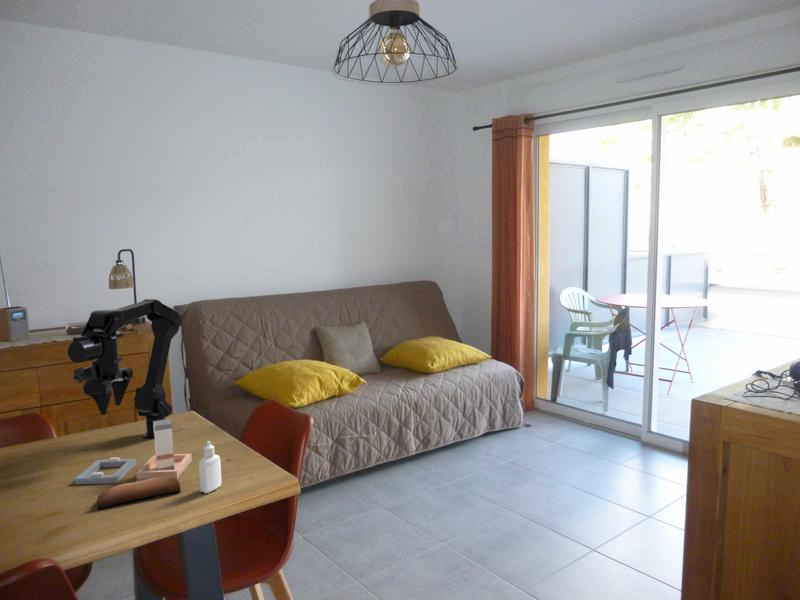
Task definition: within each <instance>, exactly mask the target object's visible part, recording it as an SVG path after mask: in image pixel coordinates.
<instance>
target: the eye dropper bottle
mask: <svg viewBox="0 0 800 600" xmlns="http://www.w3.org/2000/svg"><path fill="white" fill-rule="evenodd" d="M198 470H199V471H198V474H199V475H198V476H199V489H200V490H199V492H200V493H201V492H204V493H203V494H206V493H208V492H211V491H213V490H215V489H217V488H218V487H220V486H222V485H221V484H223V483H222V481H223V480H222V467H221V456H220V455H219V454H215V446H214V445H213V444H211V441H210V440H207V441H206V446H204V447H203V457H202V458H201V459H200V461H199V463H198ZM220 488H221V487H220ZM217 490H218V489H217ZM211 493H212V492H211ZM208 494H209V493H208Z"/></svg>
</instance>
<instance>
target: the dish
mask: <svg viewBox="0 0 800 600" xmlns="http://www.w3.org/2000/svg"><path fill="white" fill-rule="evenodd" d="M192 459H193V458H192V453H174V470H157V468H156V456H155V454H154V455H152V456H151V457H150V458H149V459H148V460H147V461H146V462H145V464H143V465H142V467H141V468H140V469H138V471H136V474H135V475H136V481H143V480H147V479H150V478H155V477H173V478H176V479H177V480H178V481H179V479H180V478H181V477H182V475H183V474H184V473H185V472H186V470H187V469H188V468H189V466H190V465H191V464H192V463H191V462H192V461H193V460H192ZM190 463H191V464H190ZM189 464H190V465H189ZM187 467H188V468H187ZM186 468H187V469H186ZM183 472H184V473H183ZM182 473H183V474H182ZM181 474H182V475H181ZM180 476H181V477H180ZM179 477H180V478H179ZM178 478H179V479H178Z"/></svg>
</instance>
